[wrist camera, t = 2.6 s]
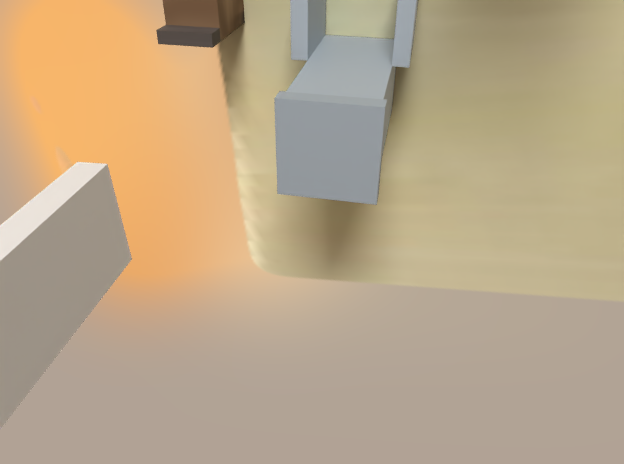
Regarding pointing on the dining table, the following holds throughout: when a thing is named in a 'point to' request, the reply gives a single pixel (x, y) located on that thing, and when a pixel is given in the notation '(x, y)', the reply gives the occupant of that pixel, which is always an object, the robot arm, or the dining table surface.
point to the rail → (200, 21)
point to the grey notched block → (338, 106)
